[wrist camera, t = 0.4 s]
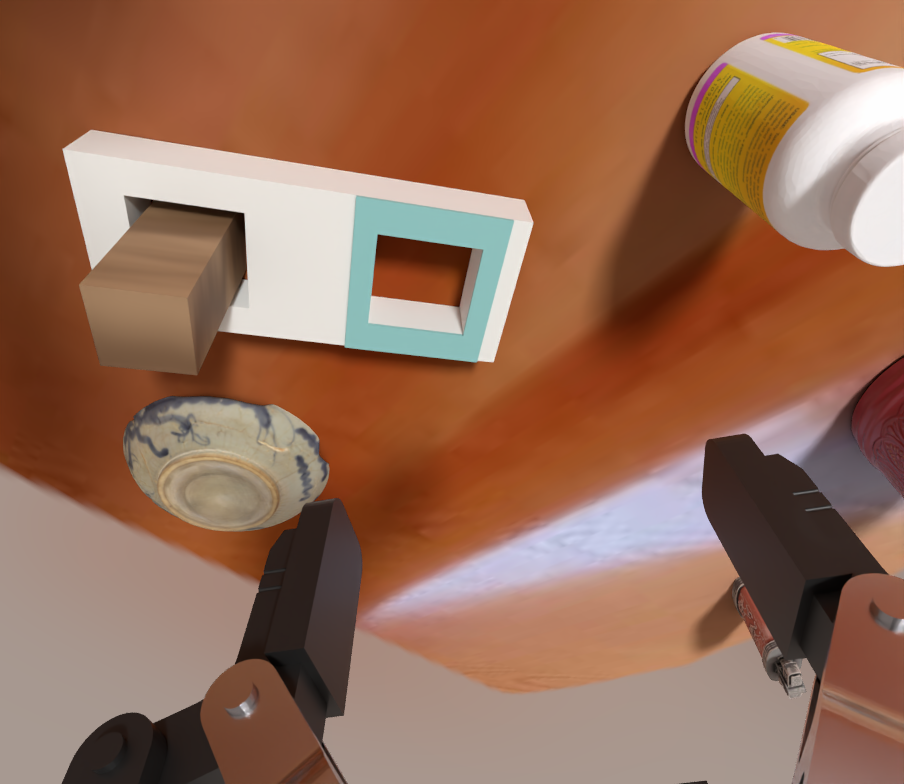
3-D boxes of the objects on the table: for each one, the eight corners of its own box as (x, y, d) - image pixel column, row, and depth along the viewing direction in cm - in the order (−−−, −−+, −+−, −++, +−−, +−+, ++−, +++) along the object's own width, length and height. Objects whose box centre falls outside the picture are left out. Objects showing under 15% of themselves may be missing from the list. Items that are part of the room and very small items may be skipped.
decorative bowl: (370, 462, 45) (206, 348, 37) (367, 499, 42) (189, 385, 34) (249, 539, 50) (84, 455, 42) (240, 577, 48) (61, 495, 40)
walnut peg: (163, 189, 30) (78, 284, 22) (243, 201, 30) (187, 297, 23) (173, 258, 32) (100, 365, 25) (246, 268, 33) (197, 375, 25)
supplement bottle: (697, 195, 32) (827, 321, 22) (665, 80, 28) (804, 171, 18) (823, 130, 30) (1027, 237, 20) (807, -3, 26) (1051, 49, 16)
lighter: (766, 606, 62) (815, 703, 55) (734, 614, 63) (779, 710, 55) (763, 570, 57) (817, 670, 50) (729, 578, 58) (777, 678, 51)
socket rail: (91, 129, 28) (60, 150, 25) (524, 200, 31) (533, 224, 29) (124, 290, 33) (102, 320, 31) (488, 334, 37) (493, 364, 34)
